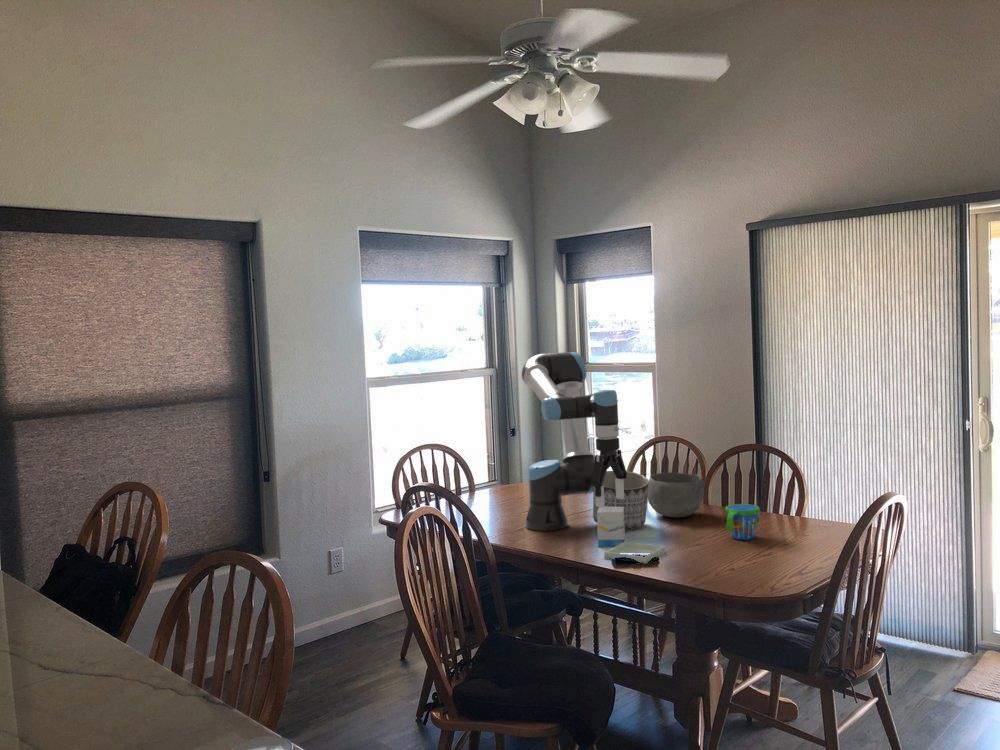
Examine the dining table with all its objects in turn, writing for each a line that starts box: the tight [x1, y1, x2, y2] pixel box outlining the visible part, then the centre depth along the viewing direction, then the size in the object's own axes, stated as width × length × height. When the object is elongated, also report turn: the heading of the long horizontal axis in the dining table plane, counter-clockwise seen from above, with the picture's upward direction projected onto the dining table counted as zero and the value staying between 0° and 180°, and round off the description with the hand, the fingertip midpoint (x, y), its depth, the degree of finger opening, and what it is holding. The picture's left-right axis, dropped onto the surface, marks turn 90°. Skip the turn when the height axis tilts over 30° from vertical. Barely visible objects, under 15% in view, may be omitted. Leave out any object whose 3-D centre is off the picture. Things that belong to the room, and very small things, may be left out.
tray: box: [603, 540, 667, 565], centre depth 255 cm, size 14×14×2 cm
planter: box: [592, 470, 649, 531], centre depth 291 cm, size 19×19×16 cm
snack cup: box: [725, 503, 761, 541], centre depth 269 cm, size 16×10×10 cm
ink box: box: [596, 507, 626, 548], centre depth 270 cm, size 9×8×12 cm
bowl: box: [647, 472, 705, 519], centre depth 303 cm, size 20×20×15 cm
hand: (610, 502), depth 269 cm, fingers open, 13 cm apart
